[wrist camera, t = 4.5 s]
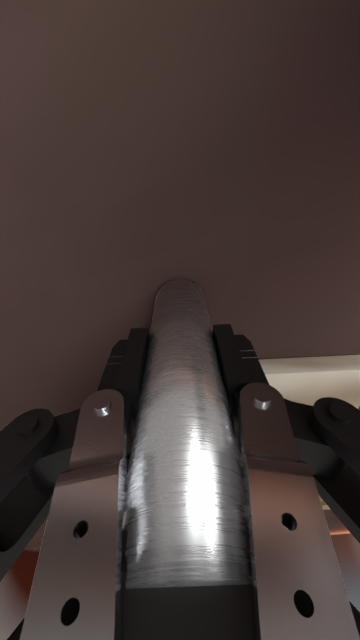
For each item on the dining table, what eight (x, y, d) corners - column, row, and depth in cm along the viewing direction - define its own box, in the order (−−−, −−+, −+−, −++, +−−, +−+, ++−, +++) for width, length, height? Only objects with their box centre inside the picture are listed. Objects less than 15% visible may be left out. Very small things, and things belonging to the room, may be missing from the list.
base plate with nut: (141, 365, 18) (126, 453, 12) (362, 354, 17) (451, 439, 12) (162, 487, 27) (159, 569, 21) (306, 481, 27) (341, 562, 21)
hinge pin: (152, 279, 14) (88, 582, 4) (204, 277, 14) (287, 575, 4) (157, 323, 15) (122, 622, 5) (204, 321, 15) (262, 617, 5)
